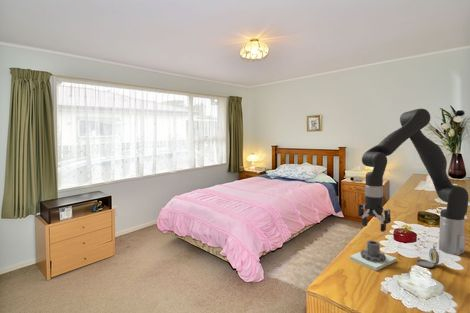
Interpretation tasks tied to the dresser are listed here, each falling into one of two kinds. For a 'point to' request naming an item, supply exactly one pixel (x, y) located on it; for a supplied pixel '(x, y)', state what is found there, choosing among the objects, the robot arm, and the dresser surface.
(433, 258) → the pocket watch
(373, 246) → the planet gear
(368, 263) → the plate
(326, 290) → the dresser surface
